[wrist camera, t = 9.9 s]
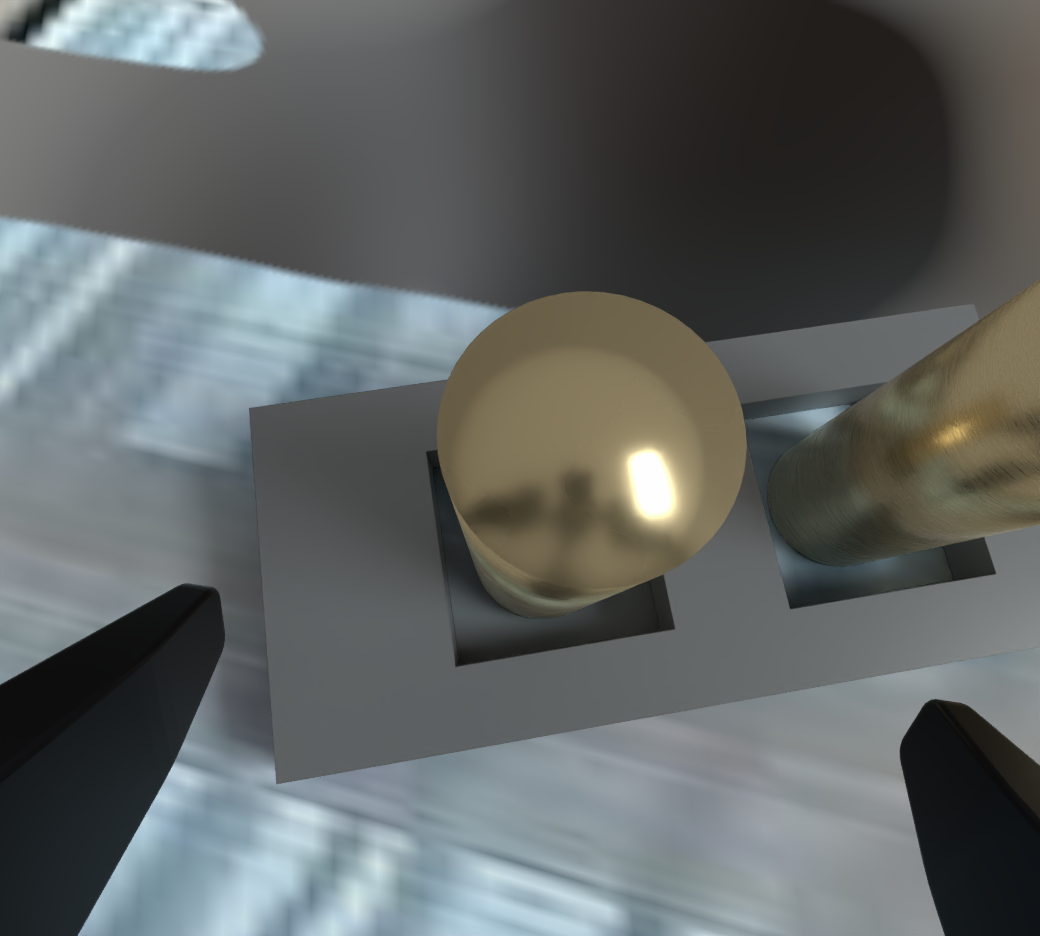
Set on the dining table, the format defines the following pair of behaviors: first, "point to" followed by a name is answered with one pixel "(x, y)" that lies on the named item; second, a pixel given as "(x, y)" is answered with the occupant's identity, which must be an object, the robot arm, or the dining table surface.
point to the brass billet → (587, 449)
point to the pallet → (596, 665)
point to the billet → (924, 451)
